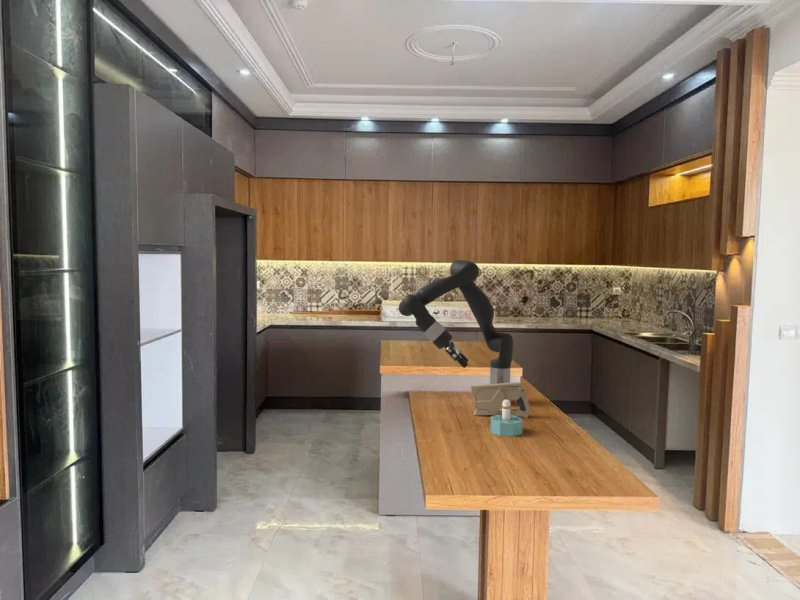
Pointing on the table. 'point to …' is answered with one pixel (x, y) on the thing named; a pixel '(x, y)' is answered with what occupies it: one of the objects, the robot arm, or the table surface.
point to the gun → (499, 398)
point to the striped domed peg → (506, 410)
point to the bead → (506, 425)
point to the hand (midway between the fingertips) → (466, 364)
